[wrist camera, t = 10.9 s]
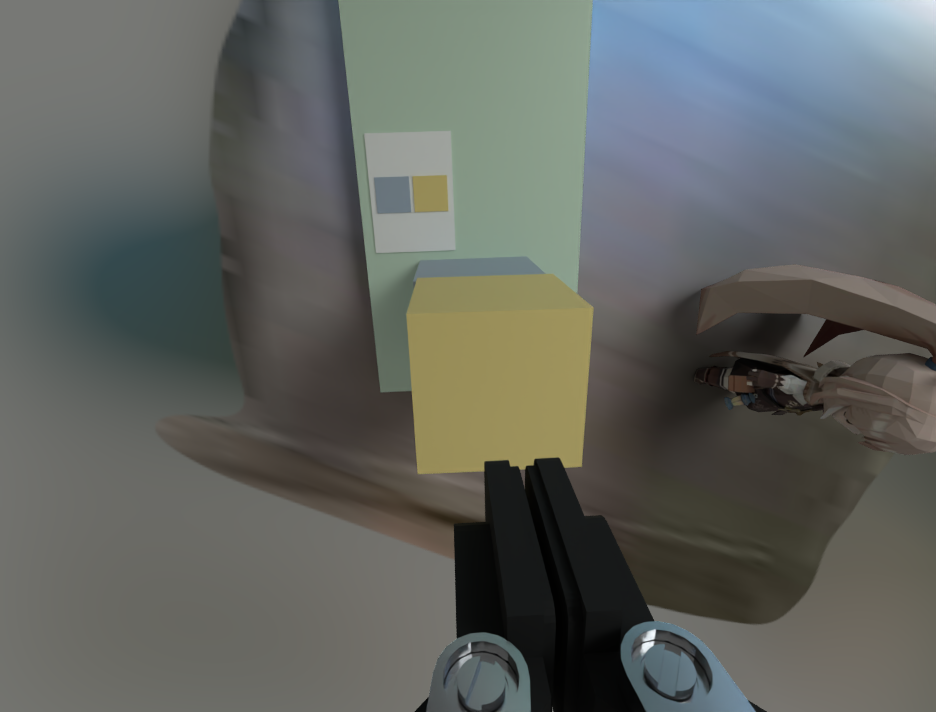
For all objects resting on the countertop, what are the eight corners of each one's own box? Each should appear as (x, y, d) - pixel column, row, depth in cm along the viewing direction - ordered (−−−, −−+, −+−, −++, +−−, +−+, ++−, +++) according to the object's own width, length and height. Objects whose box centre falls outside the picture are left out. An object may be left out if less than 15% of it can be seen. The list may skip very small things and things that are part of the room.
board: (338, -38, 22) (331, -51, 21) (588, -43, 22) (596, -56, 21) (382, 384, 30) (380, 393, 29) (567, 375, 30) (573, 384, 29)
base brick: (420, 260, 26) (412, 281, 20) (526, 256, 26) (548, 276, 21) (426, 360, 28) (422, 404, 22) (525, 355, 28) (544, 398, 23)
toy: (648, 395, 30) (875, 459, 15) (676, 266, 30) (934, 203, 15) (773, 419, 31) (1097, 500, 16) (800, 294, 31) (1156, 262, 16)
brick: (417, 277, 20) (406, 314, 15) (553, 273, 20) (593, 307, 15) (424, 401, 22) (417, 474, 17) (547, 396, 23) (581, 466, 17)
